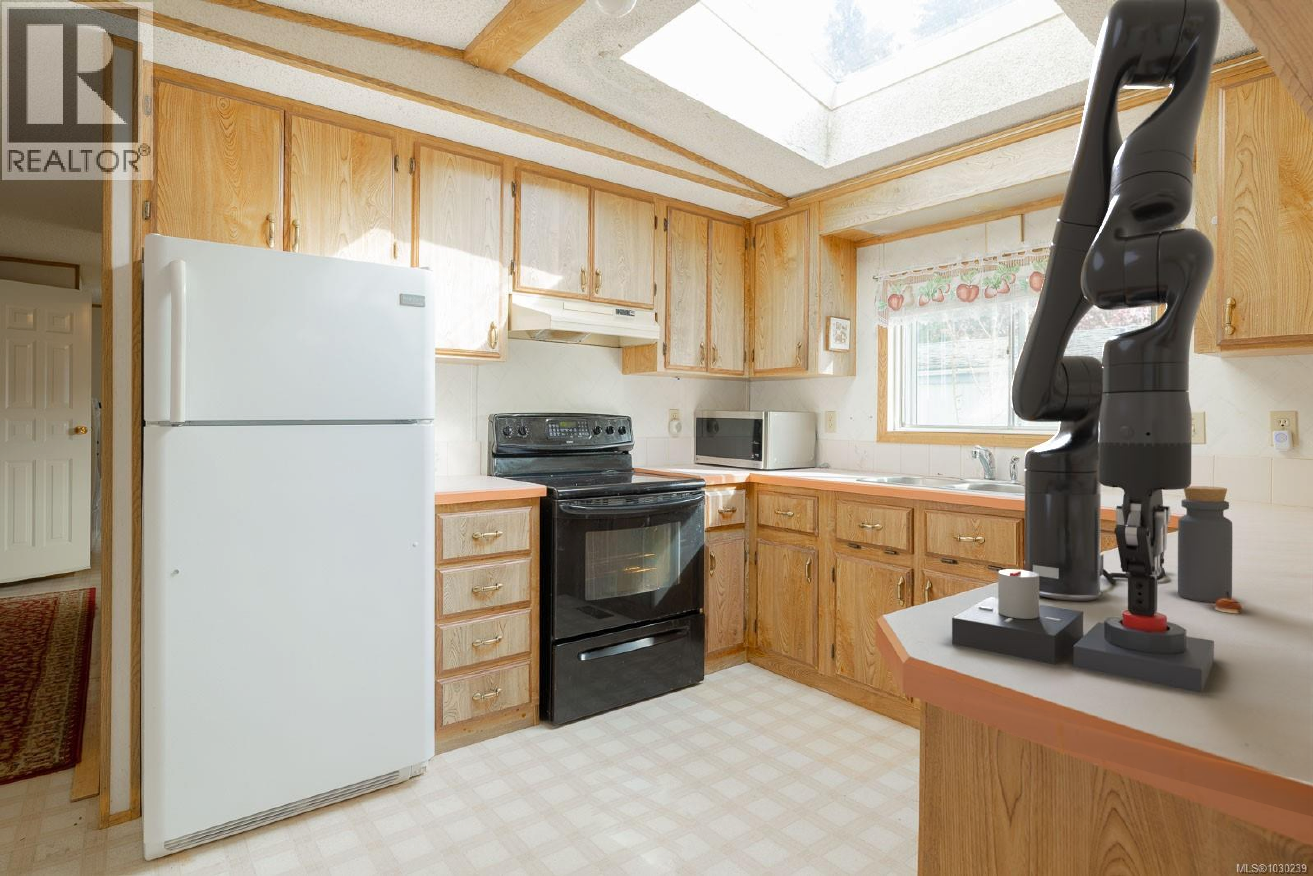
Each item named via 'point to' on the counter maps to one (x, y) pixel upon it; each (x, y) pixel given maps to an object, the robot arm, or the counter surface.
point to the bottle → (1204, 545)
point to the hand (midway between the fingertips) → (1142, 613)
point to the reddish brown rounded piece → (1228, 605)
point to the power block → (1146, 654)
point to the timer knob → (1018, 594)
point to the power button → (1145, 621)
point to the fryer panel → (1018, 631)
